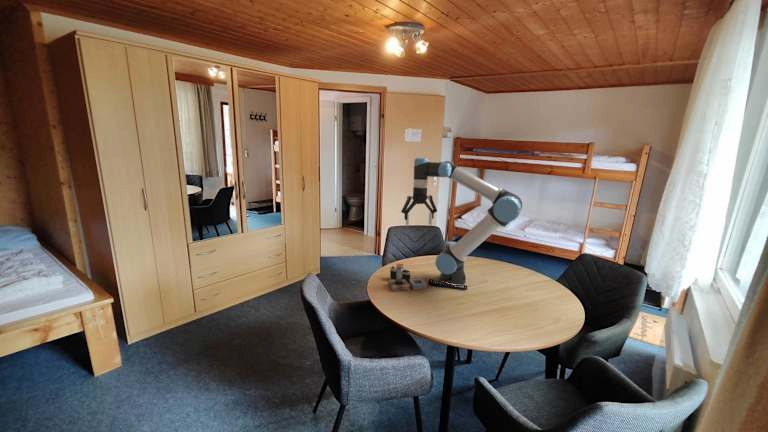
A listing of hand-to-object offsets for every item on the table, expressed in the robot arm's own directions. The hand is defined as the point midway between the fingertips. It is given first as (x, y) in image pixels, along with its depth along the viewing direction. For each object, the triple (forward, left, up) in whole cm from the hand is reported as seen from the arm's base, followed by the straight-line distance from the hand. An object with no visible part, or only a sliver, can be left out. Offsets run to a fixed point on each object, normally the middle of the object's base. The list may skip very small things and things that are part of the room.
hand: (418, 225), depth 182 cm
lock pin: (+11, +5, -34) cm, 36 cm away
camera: (+7, -5, -34) cm, 35 cm away
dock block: (+12, +5, -34) cm, 36 cm away
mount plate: (+1, +5, -34) cm, 34 cm away
